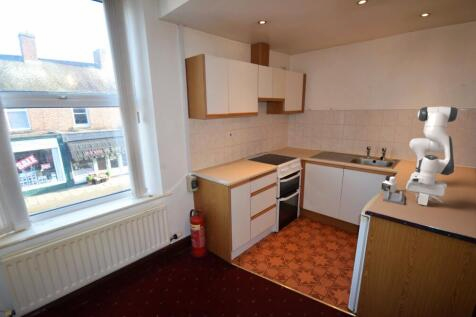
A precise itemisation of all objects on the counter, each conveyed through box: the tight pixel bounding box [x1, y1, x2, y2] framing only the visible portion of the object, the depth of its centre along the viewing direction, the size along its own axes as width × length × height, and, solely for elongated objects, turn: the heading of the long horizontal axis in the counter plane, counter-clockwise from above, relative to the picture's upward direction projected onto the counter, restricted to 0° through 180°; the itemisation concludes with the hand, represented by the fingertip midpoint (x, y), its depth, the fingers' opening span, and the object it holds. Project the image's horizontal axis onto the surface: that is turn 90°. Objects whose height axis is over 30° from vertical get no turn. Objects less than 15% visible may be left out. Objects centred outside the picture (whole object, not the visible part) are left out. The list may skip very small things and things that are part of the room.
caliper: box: [429, 194, 444, 204], centre depth 164 cm, size 20×1×6 cm, turn 6°
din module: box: [417, 192, 430, 206], centre depth 153 cm, size 8×4×7 cm, turn 144°
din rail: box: [386, 189, 403, 202], centre depth 162 cm, size 18×8×2 cm, turn 144°
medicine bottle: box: [380, 175, 398, 193], centre depth 175 cm, size 7×7×12 cm
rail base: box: [382, 191, 405, 206], centre depth 162 cm, size 18×12×2 cm, turn 144°
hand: (422, 199), depth 153 cm, fingers closed on din module, 4 cm apart
